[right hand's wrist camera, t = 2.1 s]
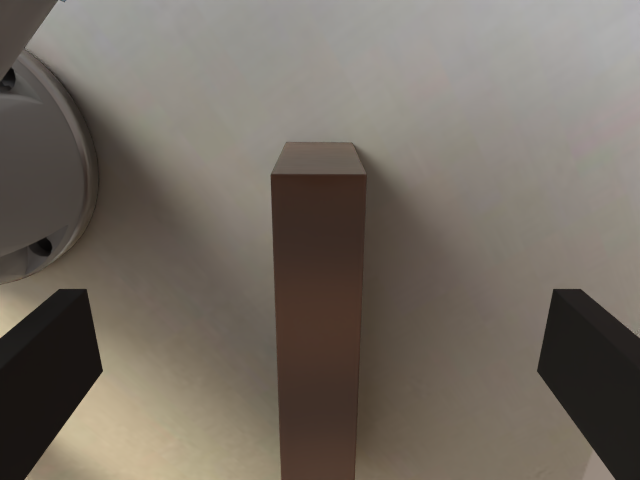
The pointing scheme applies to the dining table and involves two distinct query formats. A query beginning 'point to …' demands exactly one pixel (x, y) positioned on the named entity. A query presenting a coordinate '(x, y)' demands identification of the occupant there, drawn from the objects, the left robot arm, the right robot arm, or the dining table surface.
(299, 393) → the walnut bar
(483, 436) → the dining table surface
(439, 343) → the dining table surface
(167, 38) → the dining table surface
